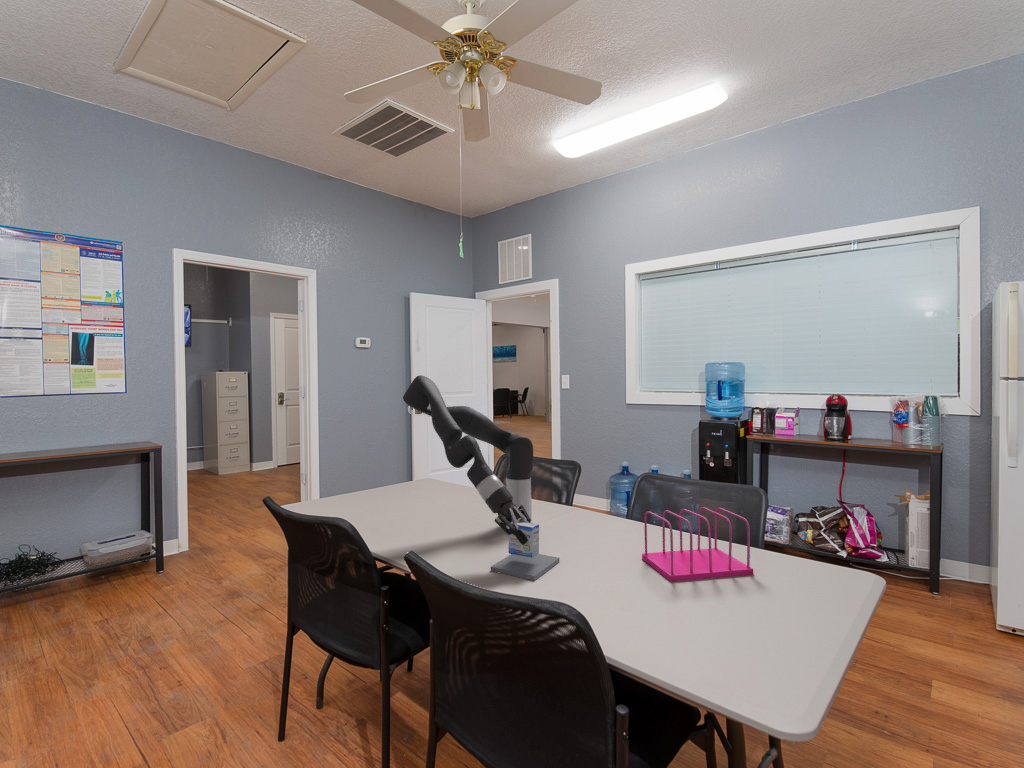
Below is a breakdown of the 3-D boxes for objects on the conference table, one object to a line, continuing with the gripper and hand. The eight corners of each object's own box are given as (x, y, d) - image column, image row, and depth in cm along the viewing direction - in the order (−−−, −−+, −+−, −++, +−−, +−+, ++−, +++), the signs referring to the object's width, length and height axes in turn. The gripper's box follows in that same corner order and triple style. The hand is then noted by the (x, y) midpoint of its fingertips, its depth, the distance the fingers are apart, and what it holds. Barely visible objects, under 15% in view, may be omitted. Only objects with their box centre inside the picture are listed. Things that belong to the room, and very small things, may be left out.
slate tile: (518, 553, 156) (518, 550, 156) (559, 561, 149) (559, 557, 149) (490, 570, 142) (490, 566, 142) (534, 580, 135) (534, 576, 135)
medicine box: (507, 553, 145) (508, 523, 145) (515, 549, 149) (515, 519, 149) (532, 558, 141) (532, 527, 141) (539, 553, 145) (539, 523, 145)
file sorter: (641, 559, 151) (641, 507, 151) (716, 553, 156) (716, 503, 155) (670, 582, 134) (670, 523, 134) (754, 575, 138) (754, 518, 138)
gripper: (499, 496, 158) (533, 541, 152) (473, 506, 145) (509, 555, 139) (514, 481, 155) (549, 526, 149) (489, 490, 143) (526, 539, 137)
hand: (529, 540), depth 144 cm, fingers closed on medicine box, 4 cm apart
